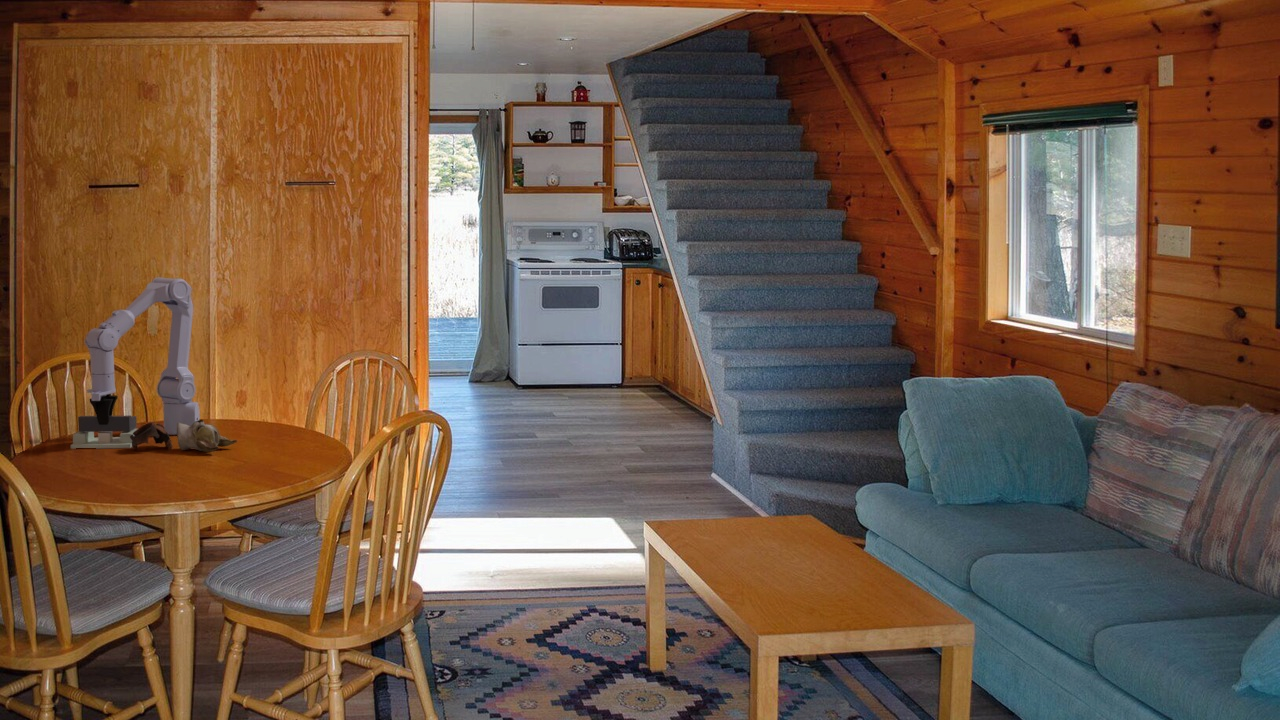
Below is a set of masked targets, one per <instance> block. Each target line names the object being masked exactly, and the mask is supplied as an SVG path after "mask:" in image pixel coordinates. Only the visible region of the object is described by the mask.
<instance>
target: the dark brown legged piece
mask: <svg viewBox="0 0 1280 720" xmlns="http://www.w3.org/2000/svg"><path fill="white" fill-rule="evenodd" d="M136 429H137V430H136V431H135V432H133V435H134V436H133V435H131V436H130V438H131V440H132V447H131V448H133V450H136V451H137V448H138V446H140V445H142V444H149V437H150V438H153V440H154V443H155V444H163V443H164V446H165V448H167V449H168V451H171V450H172V449H173V447H174V446H173V443H172V440H171V437H170V435H168V433H167V431H166V430H165V429H164V425H162V423H155V422H154V421H151V422H147V423H145V424H143V425H142V426H140V427H138V428H136Z"/></svg>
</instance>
